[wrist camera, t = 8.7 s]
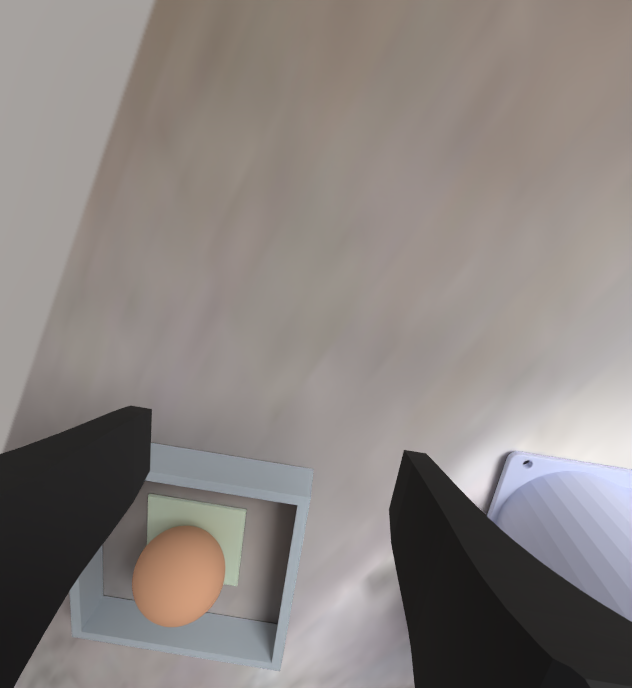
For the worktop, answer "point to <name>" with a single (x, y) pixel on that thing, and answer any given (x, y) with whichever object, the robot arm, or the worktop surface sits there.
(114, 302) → the worktop surface
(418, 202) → the worktop surface
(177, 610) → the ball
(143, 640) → the grey shallow square tray
